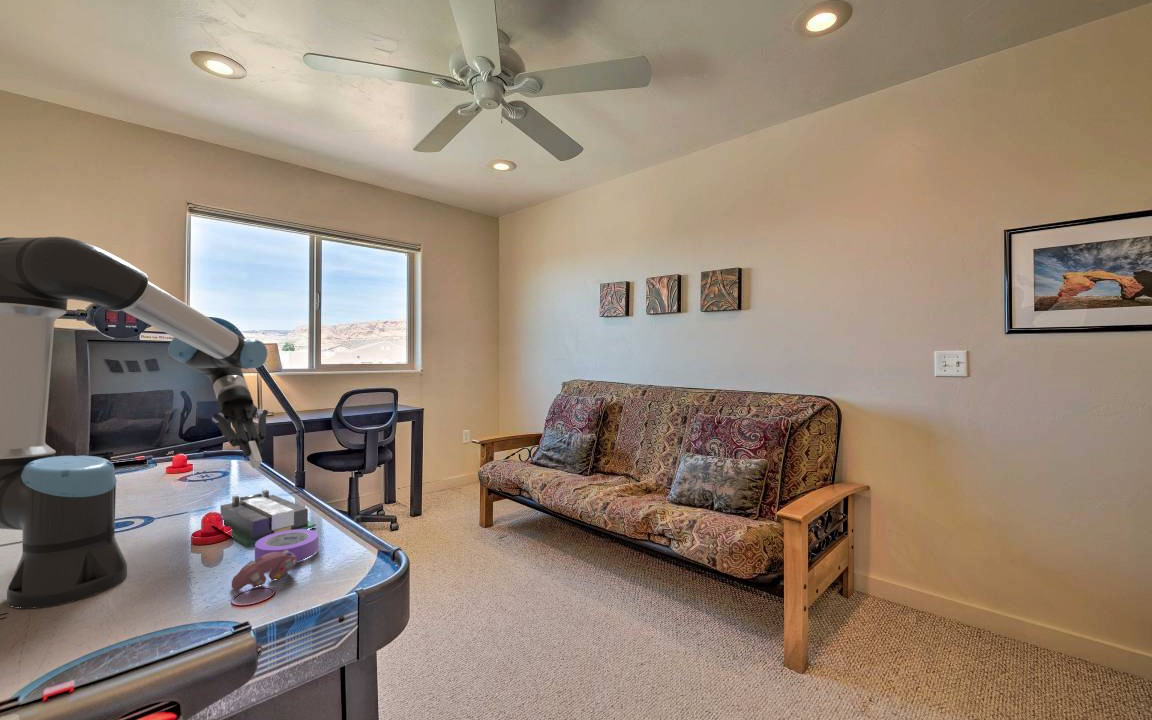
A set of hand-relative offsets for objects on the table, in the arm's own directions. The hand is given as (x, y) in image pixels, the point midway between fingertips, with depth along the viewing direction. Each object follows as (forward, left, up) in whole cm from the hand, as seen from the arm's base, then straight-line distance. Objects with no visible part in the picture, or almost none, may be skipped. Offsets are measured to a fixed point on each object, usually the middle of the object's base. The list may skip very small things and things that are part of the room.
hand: (257, 464), depth 123 cm
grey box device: (-3, -2, -15) cm, 16 cm away
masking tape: (-25, -10, -16) cm, 31 cm away
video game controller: (-38, -8, -15) cm, 42 cm away
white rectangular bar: (-4, -2, -13) cm, 14 cm away
